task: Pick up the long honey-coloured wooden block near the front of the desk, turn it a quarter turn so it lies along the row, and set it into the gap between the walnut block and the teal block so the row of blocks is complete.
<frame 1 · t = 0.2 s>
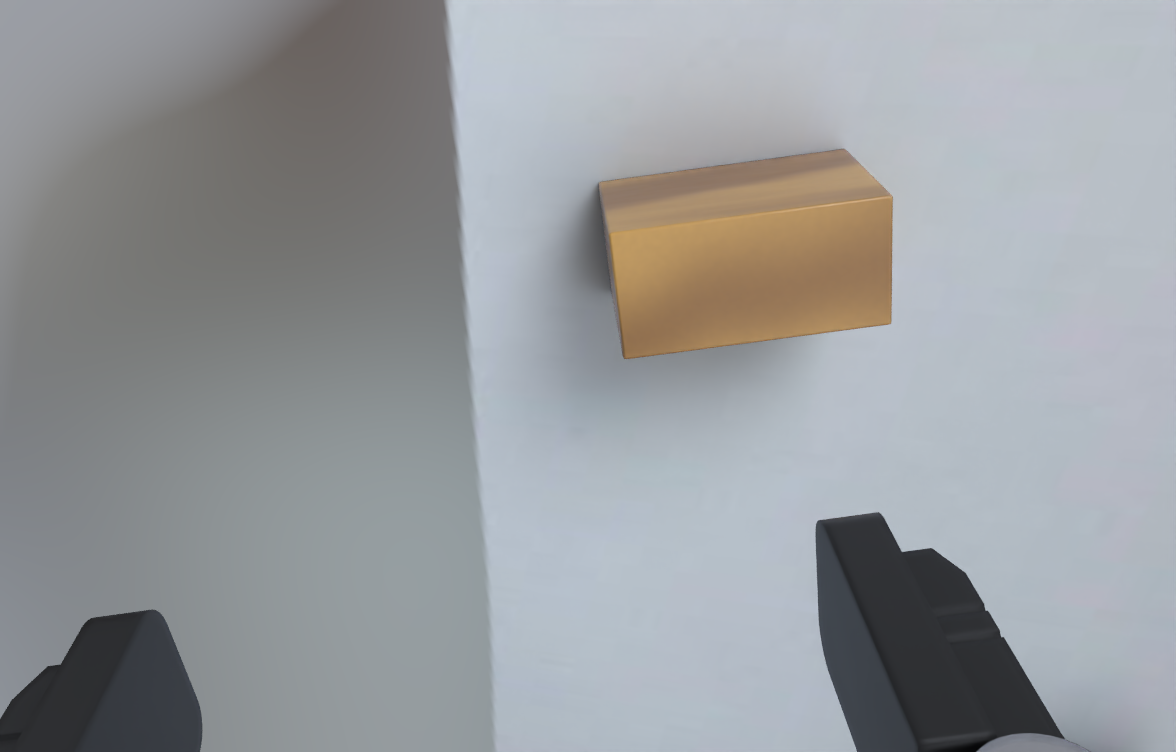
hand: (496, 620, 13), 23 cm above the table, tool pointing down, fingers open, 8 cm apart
honey block: (725, 223, 35), on the table
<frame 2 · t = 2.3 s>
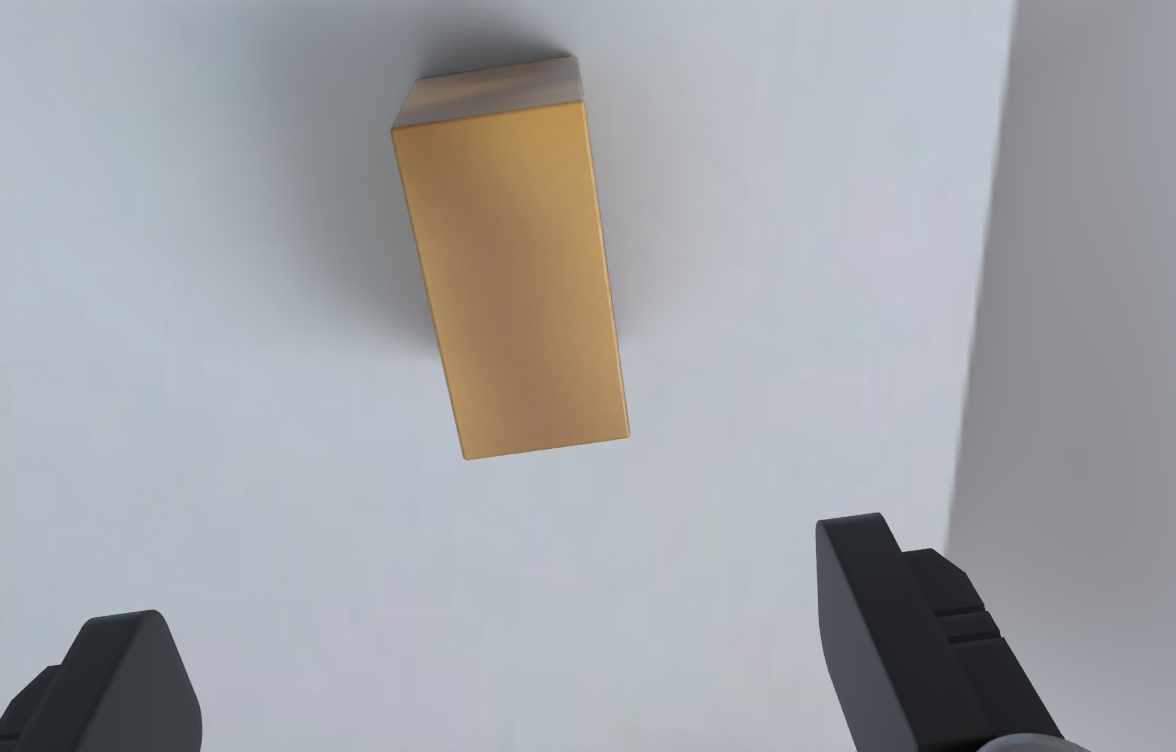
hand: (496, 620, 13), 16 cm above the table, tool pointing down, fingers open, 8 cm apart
honey block: (522, 221, 27), on the table
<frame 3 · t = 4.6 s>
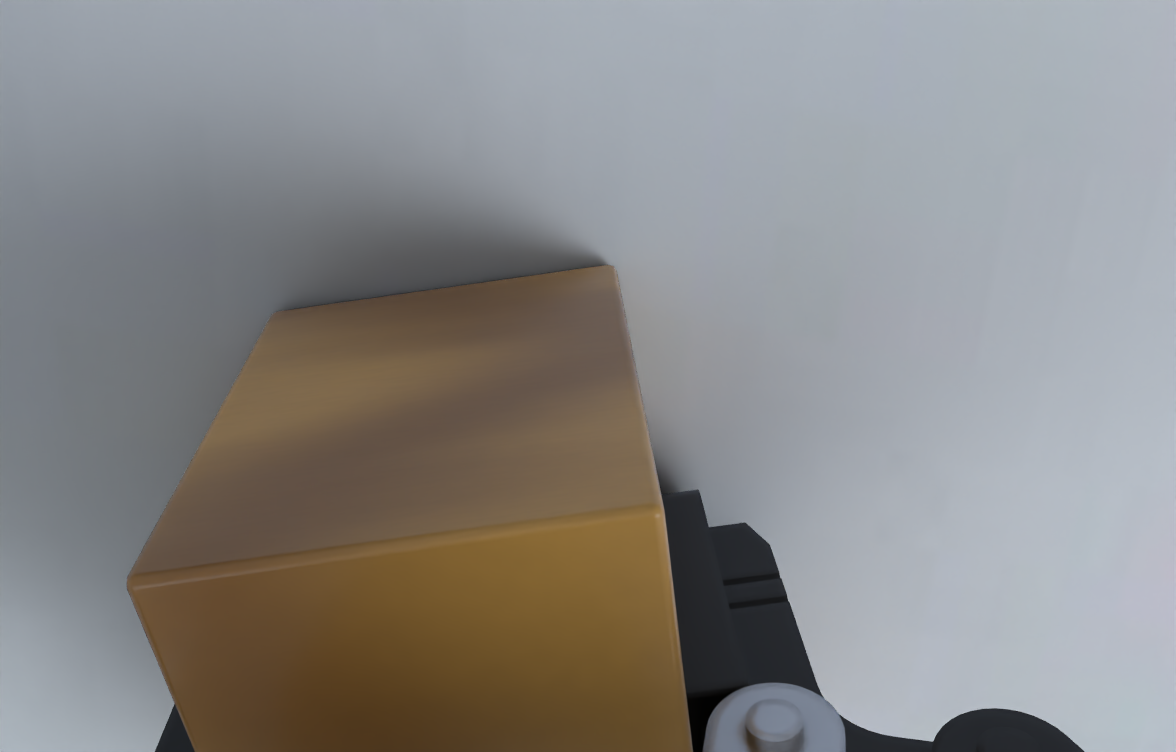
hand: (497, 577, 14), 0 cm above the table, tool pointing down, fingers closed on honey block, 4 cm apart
honey block: (500, 564, 14), on the table, touching gripper
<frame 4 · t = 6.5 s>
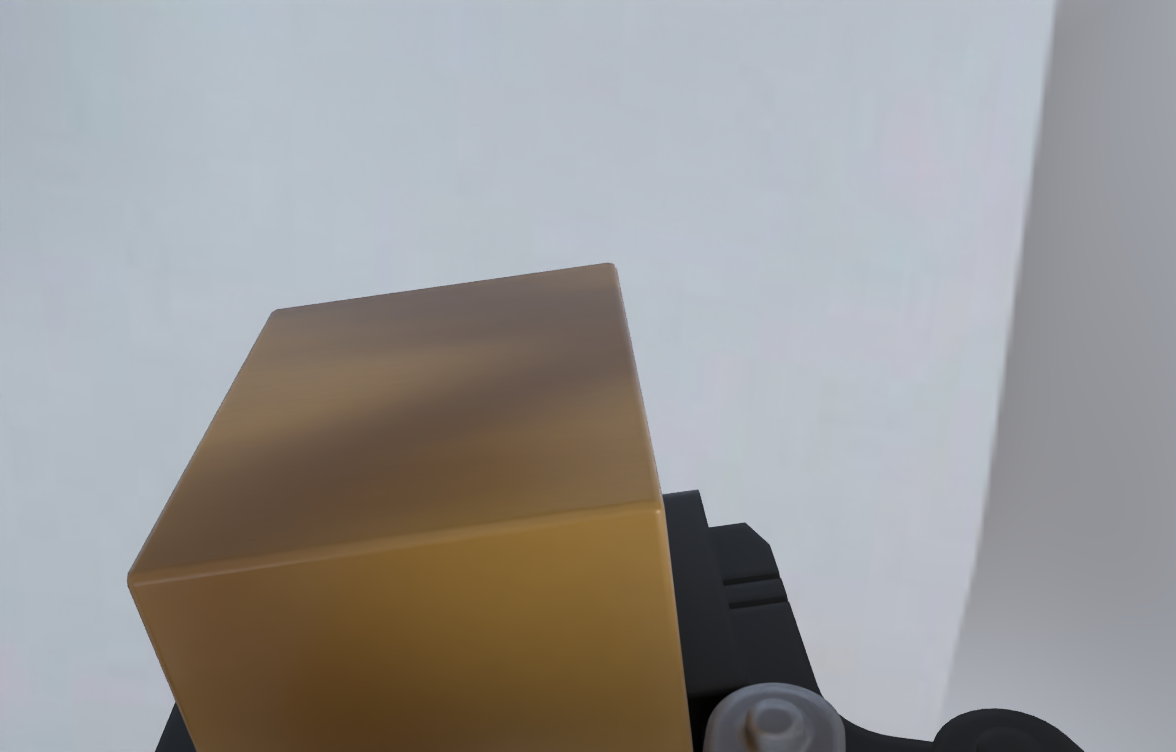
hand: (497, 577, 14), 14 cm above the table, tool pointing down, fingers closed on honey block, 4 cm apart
honey block: (500, 562, 14), point 13 cm above the table, touching gripper
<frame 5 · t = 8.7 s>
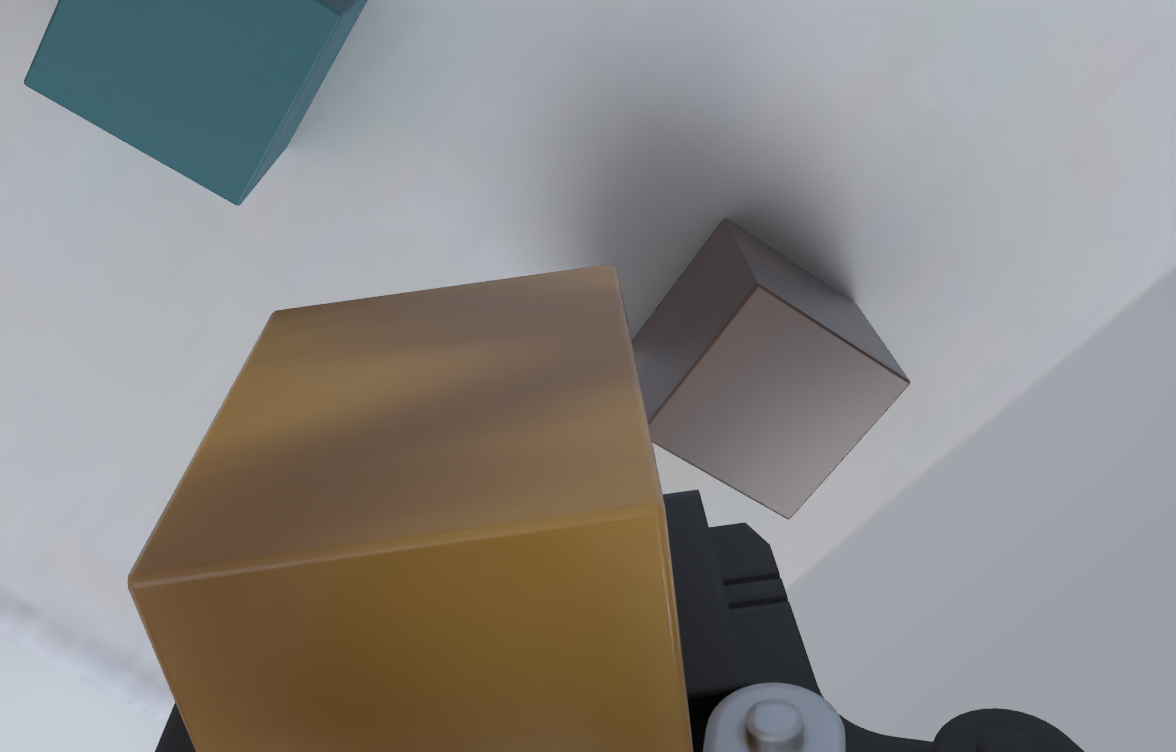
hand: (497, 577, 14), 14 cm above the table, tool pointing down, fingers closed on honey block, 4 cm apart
honey block: (500, 563, 14), point 14 cm above the table, touching gripper
teal block: (239, 15, 24), on the table
walnut block: (740, 328, 28), on the table
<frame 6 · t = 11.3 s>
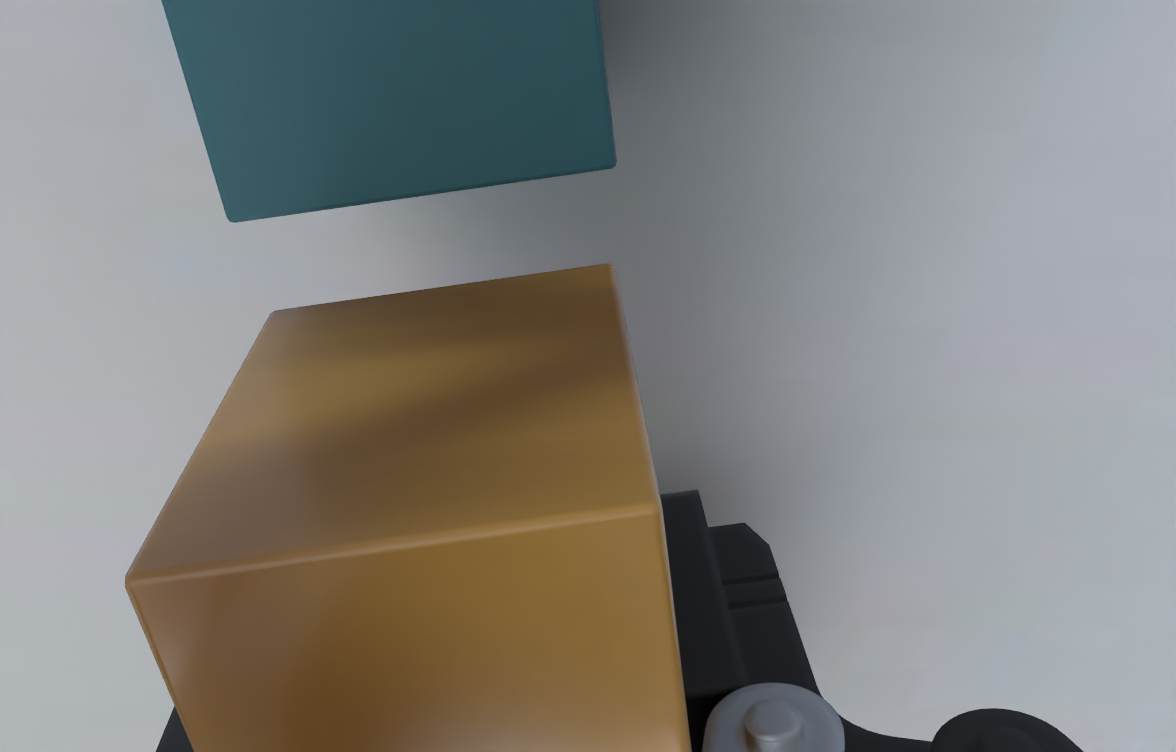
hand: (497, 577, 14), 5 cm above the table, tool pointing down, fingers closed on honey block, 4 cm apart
honey block: (500, 563, 14), point 5 cm above the table, touching gripper
when the fingers open (0 cm above the table, at t = 12.9 s): honey block stays where it is, on the table.
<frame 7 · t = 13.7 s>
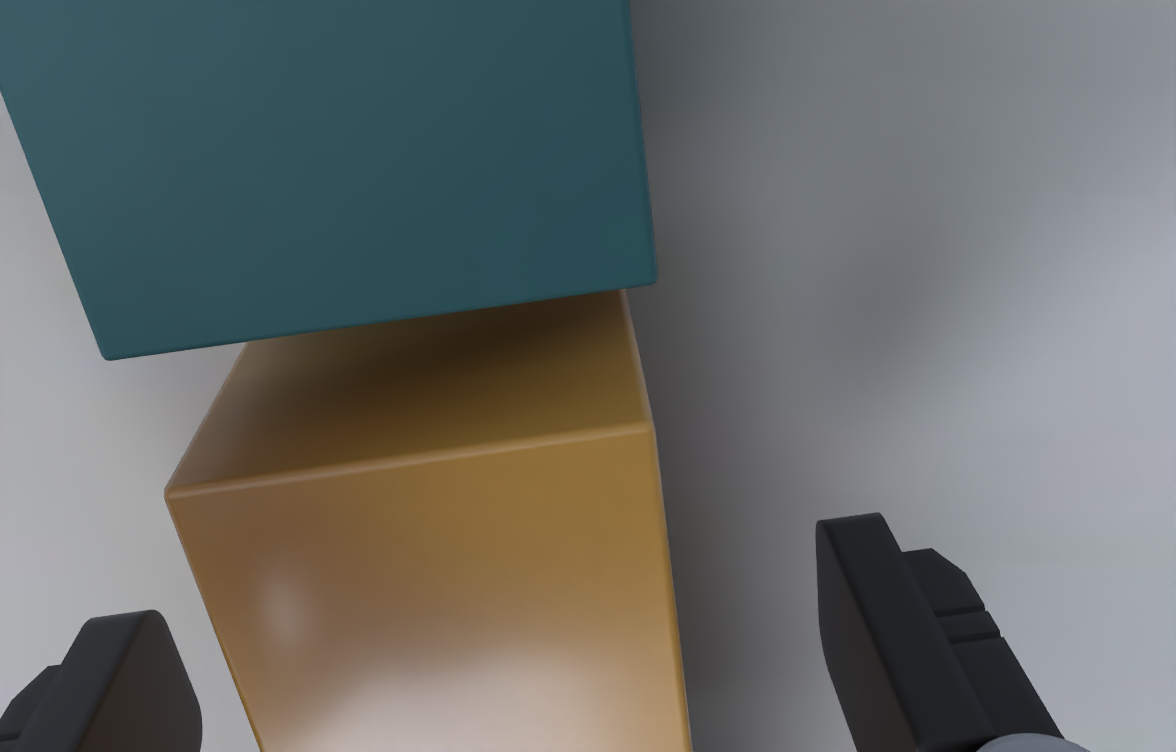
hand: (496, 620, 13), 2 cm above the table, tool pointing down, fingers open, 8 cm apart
honey block: (503, 512, 15), on the table
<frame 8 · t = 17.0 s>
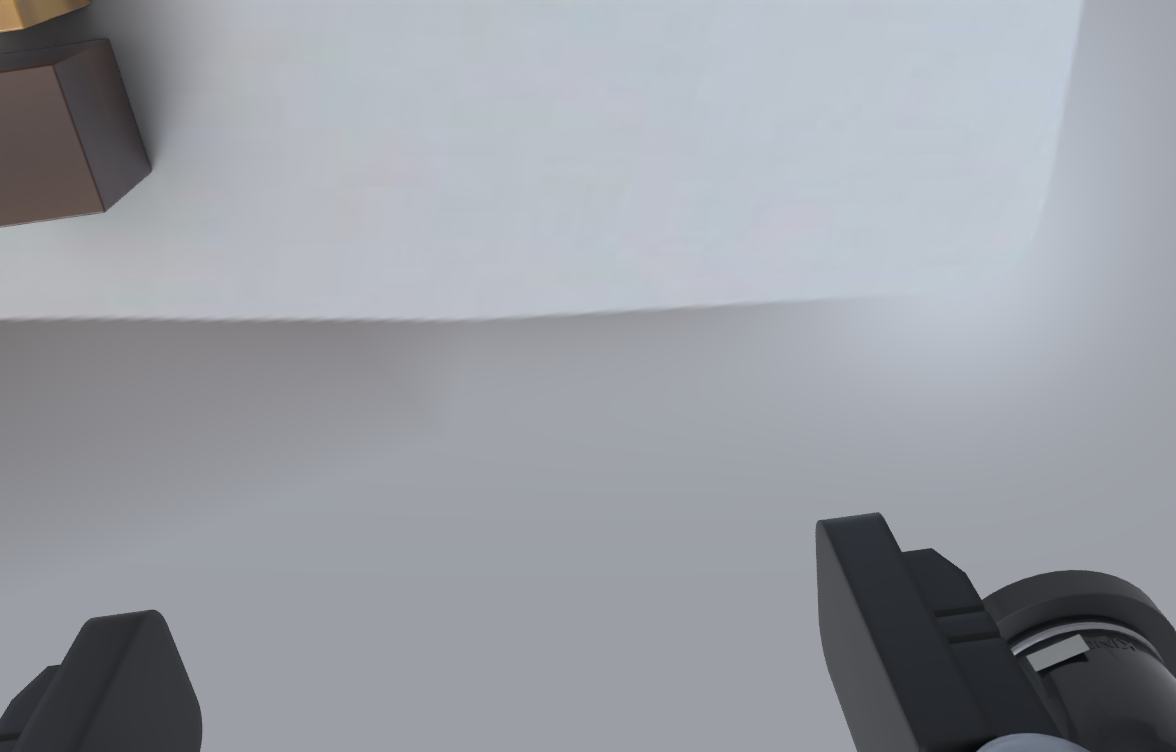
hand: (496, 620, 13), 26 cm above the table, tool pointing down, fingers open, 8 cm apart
walnut block: (65, 116, 35), on the table
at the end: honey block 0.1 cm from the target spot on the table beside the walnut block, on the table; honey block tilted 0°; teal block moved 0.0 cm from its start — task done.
